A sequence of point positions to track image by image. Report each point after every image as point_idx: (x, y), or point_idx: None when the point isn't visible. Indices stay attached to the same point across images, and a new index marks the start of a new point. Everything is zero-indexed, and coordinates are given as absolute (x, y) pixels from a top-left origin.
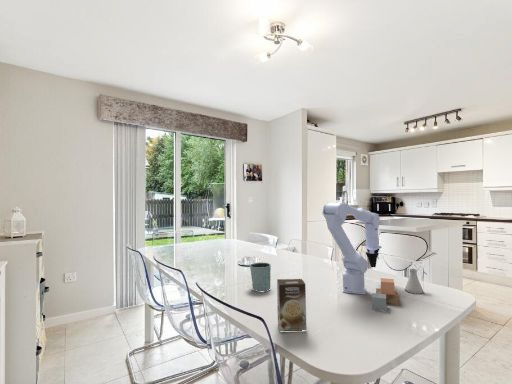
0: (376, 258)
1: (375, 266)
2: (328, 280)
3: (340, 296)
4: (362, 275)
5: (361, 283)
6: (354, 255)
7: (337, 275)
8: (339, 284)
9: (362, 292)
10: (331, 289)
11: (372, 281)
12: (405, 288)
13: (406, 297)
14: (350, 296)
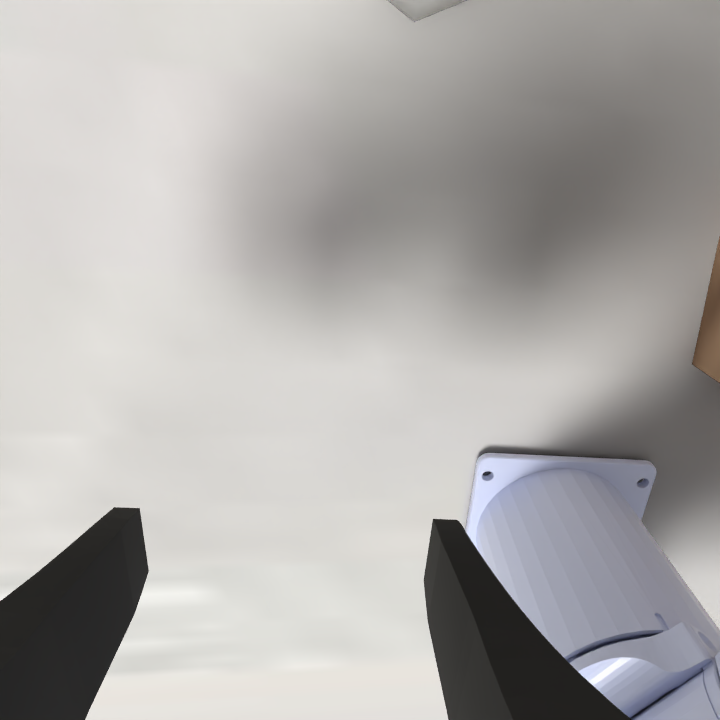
0: (589, 686)
1: (463, 531)
2: (294, 712)
3: None
4: (709, 624)
5: (666, 556)
6: None
7: (109, 670)
8: (382, 642)
9: (624, 486)
10: None
11: (172, 390)
12: (431, 1)
13: (702, 31)
14: (694, 559)
